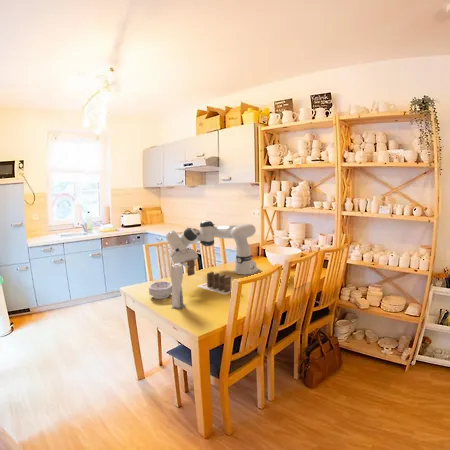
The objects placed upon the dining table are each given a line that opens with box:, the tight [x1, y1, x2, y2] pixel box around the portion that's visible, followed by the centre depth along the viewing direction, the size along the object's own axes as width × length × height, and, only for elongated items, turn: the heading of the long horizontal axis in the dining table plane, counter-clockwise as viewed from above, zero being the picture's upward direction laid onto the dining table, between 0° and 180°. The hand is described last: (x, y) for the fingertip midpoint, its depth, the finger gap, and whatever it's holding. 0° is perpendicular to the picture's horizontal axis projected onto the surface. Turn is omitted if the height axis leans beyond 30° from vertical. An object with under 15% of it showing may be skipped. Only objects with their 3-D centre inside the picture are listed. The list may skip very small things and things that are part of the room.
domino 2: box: [206, 271, 215, 288], centre depth 221 cm, size 2×5×10 cm, turn 141°
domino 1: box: [186, 260, 196, 277], centre depth 216 cm, size 2×5×10 cm, turn 141°
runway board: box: [196, 282, 233, 296], centre depth 218 cm, size 12×26×1 cm, turn 51°
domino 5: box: [224, 275, 232, 292], centre depth 211 cm, size 2×5×10 cm, turn 141°
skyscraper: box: [169, 261, 187, 310], centre depth 189 cm, size 8×8×28 cm
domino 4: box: [218, 274, 226, 291], centre depth 215 cm, size 2×5×10 cm, turn 141°
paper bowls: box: [148, 280, 172, 300], centre depth 206 cm, size 15×15×8 cm
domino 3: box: [213, 272, 220, 289], centre depth 218 cm, size 2×5×10 cm, turn 141°
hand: (191, 266), depth 215 cm, fingers closed on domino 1, 5 cm apart
